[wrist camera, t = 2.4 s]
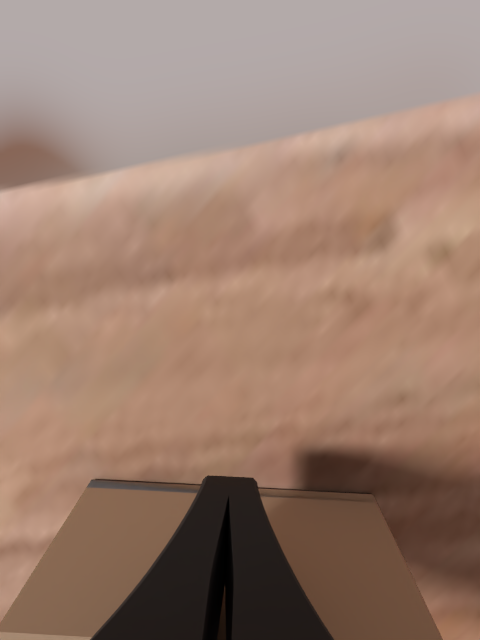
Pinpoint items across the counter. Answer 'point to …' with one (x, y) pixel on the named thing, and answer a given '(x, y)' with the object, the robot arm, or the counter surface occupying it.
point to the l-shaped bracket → (299, 549)
